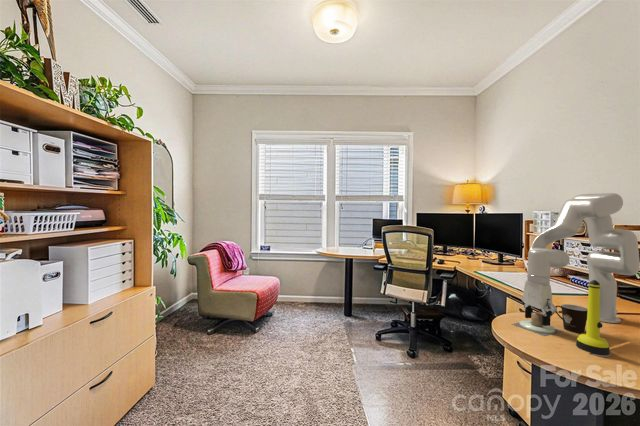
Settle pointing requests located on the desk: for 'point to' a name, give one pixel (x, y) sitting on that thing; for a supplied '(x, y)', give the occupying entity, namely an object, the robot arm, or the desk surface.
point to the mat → (538, 332)
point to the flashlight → (593, 325)
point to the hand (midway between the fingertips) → (537, 321)
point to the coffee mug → (573, 318)
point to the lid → (536, 324)
